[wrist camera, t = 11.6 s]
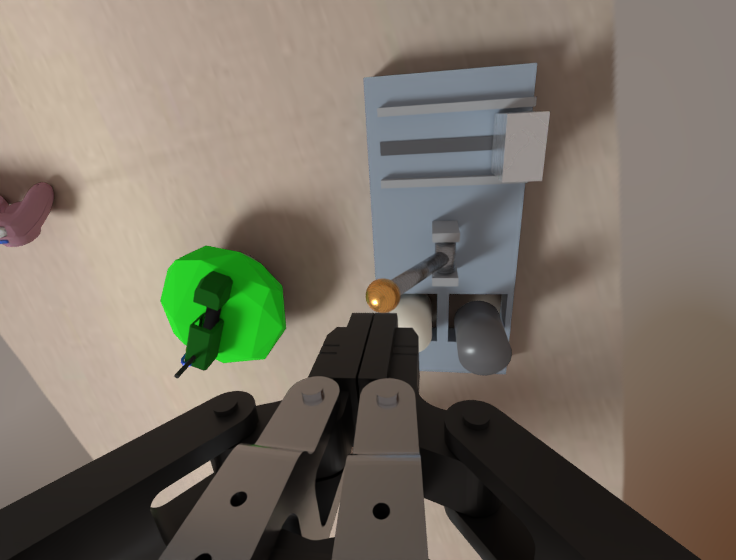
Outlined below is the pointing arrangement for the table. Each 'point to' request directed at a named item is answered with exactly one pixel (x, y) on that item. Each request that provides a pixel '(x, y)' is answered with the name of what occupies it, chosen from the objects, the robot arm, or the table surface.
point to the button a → (416, 316)
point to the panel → (445, 186)
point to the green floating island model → (222, 307)
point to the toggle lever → (410, 278)
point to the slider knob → (519, 145)
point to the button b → (481, 338)
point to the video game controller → (25, 216)
